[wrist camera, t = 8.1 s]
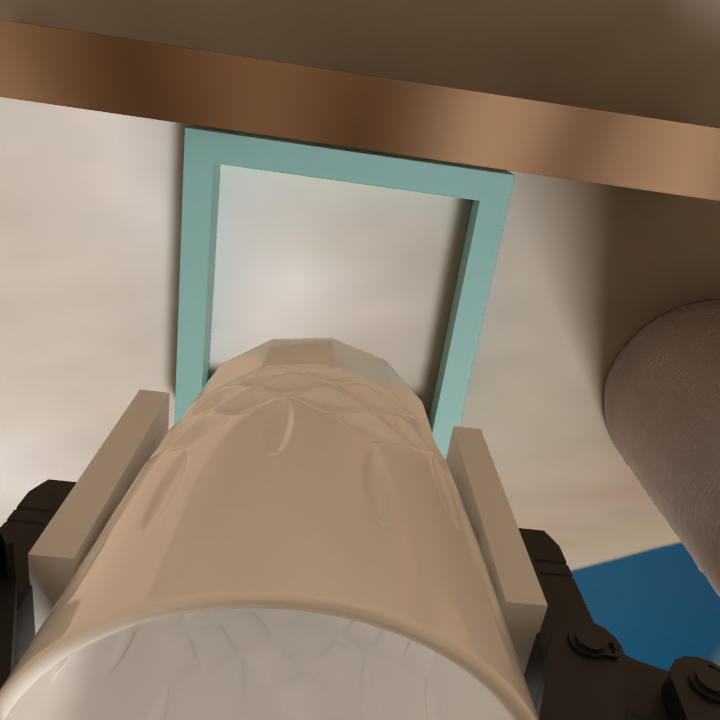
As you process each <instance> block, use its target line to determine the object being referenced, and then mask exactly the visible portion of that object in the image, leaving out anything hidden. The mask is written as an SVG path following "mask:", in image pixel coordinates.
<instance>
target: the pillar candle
mask: <svg viewBox="0 0 720 720" xmlns="http://www.w3.org/2000/svg"><path fill="white" fill-rule="evenodd" d="M604 389H605V390H604V417H605V422H606V426H607V429H608V432H609V435H610V437H611V440H612V442H613V444H614V445H615V447H616V448H617V450H618V452H619V453H620V454H621V455H622V457H623V458H624V461H625V462H626V464H627V465H628V466H629V467H630V468H631V470H632V471H633V473H634V474H635V476H636V477H637V479H638V480H639V481H640V483H641V485H642V486H643V488H644V489H645V490H646V492H647V494H648V495H649V497H650V498H651V499H652V501H653V503H654V504H655V505H656V507H657V508H658V509H659V511H660V512H661V514H662V515H663V516H664V517H665V519H666V520H667V522H668V523H669V525H670V526H671V528H672V529H673V530H674V532H675V533H676V534H677V536H678V537H679V539H680V540H681V542H682V543H683V545H684V546H685V547H686V549H687V550H688V552H689V553H690V554H691V556H692V558H693V559H694V561H695V562H696V564H697V566H698V568H699V570H700V571H701V572H703V573H704V575H705V576H706V577H707V579H708V581H709V582H710V584H711V586H712V587H713V588H714V590H715V591H716V593H717V594H718V595H719V596H720V300H707V301H703V302H696V303H692V304H688V305H685V306H682V307H679V308H677V309H674V310H672V311H669V312H668V313H665V314H664V315H662V316H660V317H658V318H657V319H655V320H654V321H652V322H651V323H649V324H647V325H646V326H645V327H644V328H642V329H641V330H640V331H639V332H638V333H637V334H636V335H635V336H634V337H632V338H631V339H630V341H629V342H628V343H627V345H626V346H625V347H624V348H623V349H622V350H621V352H620V353H619V354H618V356H617V358H616V359H615V361H614V363H613V365H612V367H611V369H610V371H609V373H608V375H607V379H606V383H605V388H604Z"/></svg>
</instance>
